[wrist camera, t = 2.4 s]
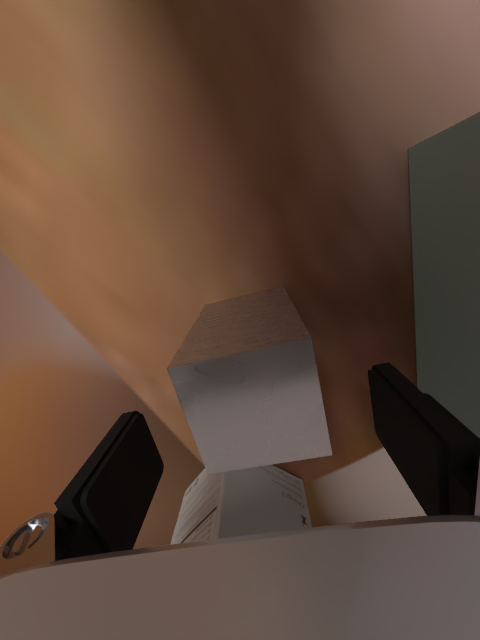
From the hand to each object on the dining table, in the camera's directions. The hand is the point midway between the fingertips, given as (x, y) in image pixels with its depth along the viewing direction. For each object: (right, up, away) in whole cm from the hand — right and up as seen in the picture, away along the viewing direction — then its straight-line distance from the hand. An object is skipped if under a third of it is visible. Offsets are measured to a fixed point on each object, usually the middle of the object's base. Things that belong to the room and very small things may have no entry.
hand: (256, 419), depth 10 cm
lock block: (0, +3, +6) cm, 7 cm away
